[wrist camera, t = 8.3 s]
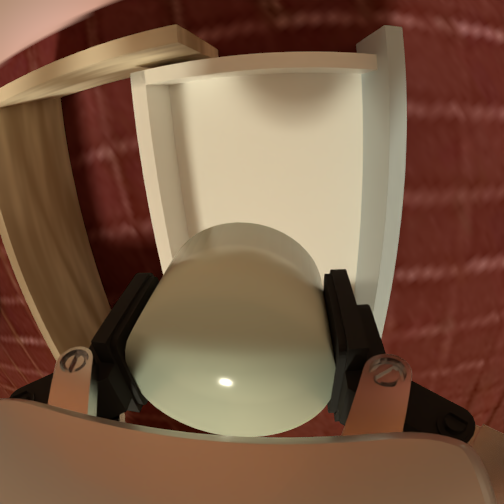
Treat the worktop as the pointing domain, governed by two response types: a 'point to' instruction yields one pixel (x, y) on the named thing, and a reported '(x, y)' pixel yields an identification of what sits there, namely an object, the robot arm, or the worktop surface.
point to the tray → (283, 153)
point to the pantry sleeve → (65, 180)
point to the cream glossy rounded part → (236, 334)
